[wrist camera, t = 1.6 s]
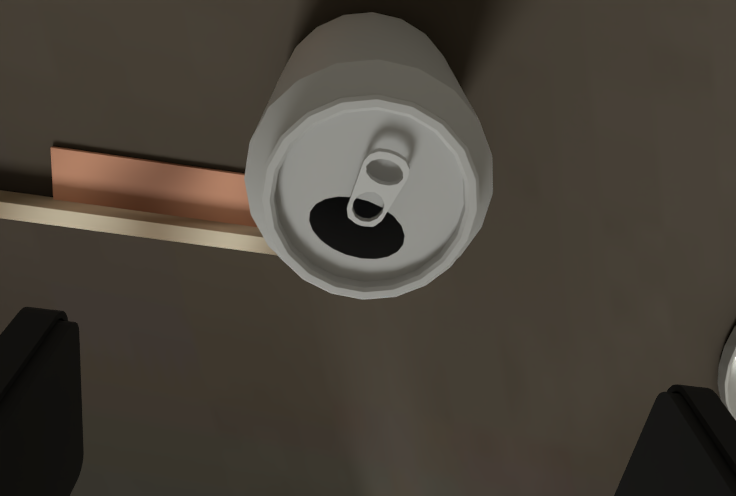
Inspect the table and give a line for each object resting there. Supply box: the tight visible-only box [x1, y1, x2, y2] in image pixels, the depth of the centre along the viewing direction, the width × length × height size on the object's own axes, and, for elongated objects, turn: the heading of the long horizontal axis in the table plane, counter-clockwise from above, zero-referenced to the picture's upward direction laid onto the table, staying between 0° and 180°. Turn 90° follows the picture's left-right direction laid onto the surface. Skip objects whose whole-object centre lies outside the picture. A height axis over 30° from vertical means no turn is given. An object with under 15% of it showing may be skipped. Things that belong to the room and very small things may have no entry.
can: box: [244, 12, 493, 300], centre depth 25 cm, size 8×8×12 cm
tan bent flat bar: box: [0, 146, 277, 255], centre depth 28 cm, size 25×15×4 cm, turn 81°
